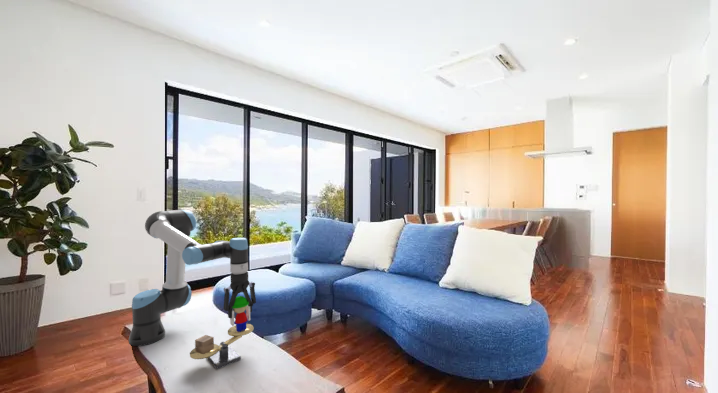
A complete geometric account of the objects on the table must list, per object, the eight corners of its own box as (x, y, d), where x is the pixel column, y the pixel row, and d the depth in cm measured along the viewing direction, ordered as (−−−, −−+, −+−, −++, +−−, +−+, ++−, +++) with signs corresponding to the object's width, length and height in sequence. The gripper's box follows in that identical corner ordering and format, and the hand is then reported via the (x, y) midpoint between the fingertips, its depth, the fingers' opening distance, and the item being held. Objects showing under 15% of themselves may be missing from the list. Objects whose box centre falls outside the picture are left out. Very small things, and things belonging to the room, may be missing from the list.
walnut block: (195, 351, 129) (195, 339, 129) (206, 346, 133) (205, 334, 133) (203, 354, 126) (203, 342, 126) (213, 348, 131) (213, 337, 131)
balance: (186, 365, 131) (186, 340, 130) (247, 343, 149) (247, 321, 148) (195, 377, 122) (194, 350, 122) (258, 352, 140) (258, 329, 140)
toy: (245, 323, 146) (243, 292, 145) (252, 328, 140) (251, 296, 140) (228, 329, 140) (227, 296, 140) (235, 334, 135) (234, 301, 134)
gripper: (219, 278, 130) (221, 331, 131) (263, 269, 144) (264, 318, 144) (213, 274, 136) (215, 326, 136) (256, 266, 149) (257, 313, 150)
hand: (240, 322), depth 140 cm, fingers open, 7 cm apart
